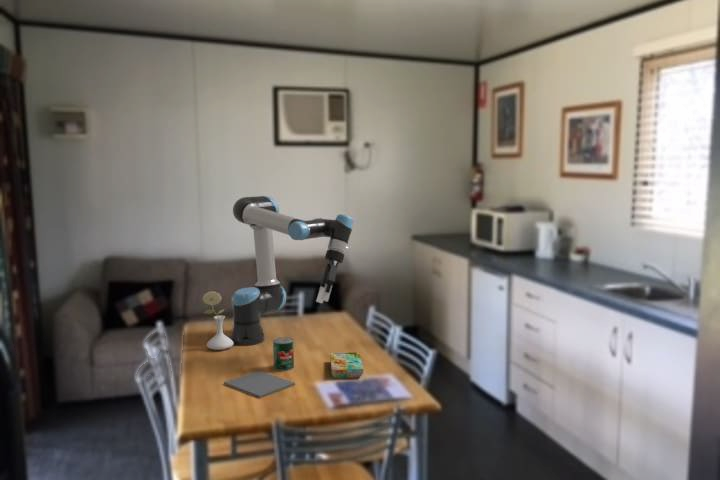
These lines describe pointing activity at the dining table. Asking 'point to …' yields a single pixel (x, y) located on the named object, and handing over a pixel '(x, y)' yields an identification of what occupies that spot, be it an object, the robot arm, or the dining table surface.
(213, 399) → the dining table surface
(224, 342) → the flower in vase
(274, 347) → the canned tomato
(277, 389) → the mat
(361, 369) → the puzzle game
